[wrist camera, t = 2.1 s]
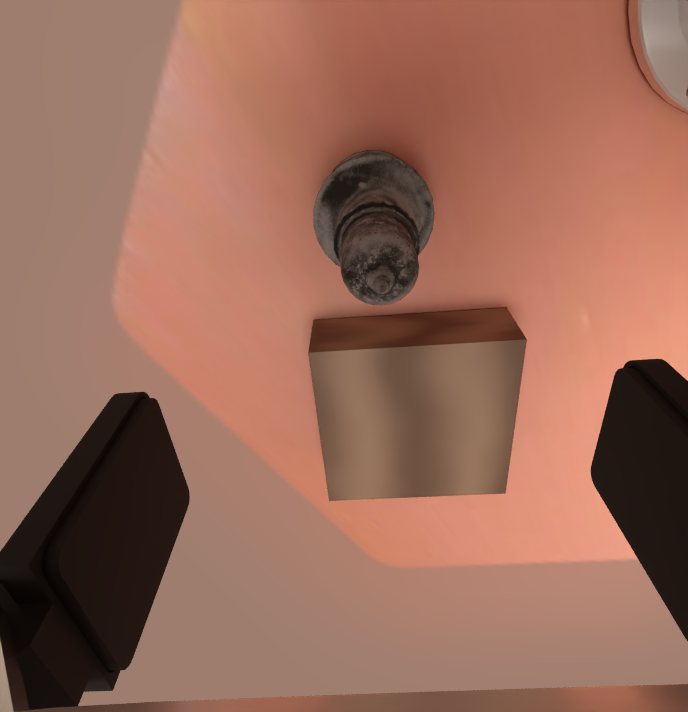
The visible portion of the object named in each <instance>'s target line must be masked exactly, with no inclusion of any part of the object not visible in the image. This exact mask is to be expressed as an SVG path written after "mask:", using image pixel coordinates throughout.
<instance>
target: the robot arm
mask: <svg viewBox="0 0 688 712" xmlns="http://www.w3.org/2000/svg"><path fill="white" fill-rule="evenodd" d="M628 15H629V24H630V34H631V42H632V45H633V48H634V52H635V55H636V58H637V61H638V64H639V67H640V69H641V70H642V72H643V74H644V75H645V77H646V79H647V80H648V82H649V84H650V85H651V87H652V88H653V89H654V90H655V91H656V92H657V93H658V94H659V95H660V96H661V97H662V98H663V99H664V100H665V101H666V102H667V103H669V104H671V105H673V106H675V107H676V108H678V109H680V110H682V111H684V112H686V113H688V92H687V93H686V90H687V88H688V0H629V7H628ZM591 477H592V481H593V484H594V486H595V487H596V489H597V491H598V492H599V494H600V496H601V497H602V499H603V501H604V502H605V504H606V506H607V508H608V509H609V511H610V513H611V514H612V516H613V518H614V519H615V521H616V523H617V524H618V526H619V528H620V529H621V531H622V533H623V534H624V536H625V538H626V539H627V541H628V543H629V544H630V546H631V548H632V549H633V551H634V553H635V554H636V556H637V558H638V559H639V561H640V563H641V564H642V566H643V568H644V569H645V571H646V573H647V574H648V576H649V578H650V580H651V581H652V583H653V585H654V586H655V588H656V590H657V591H658V593H659V594H660V596H661V598H662V600H663V601H664V603H665V605H666V606H667V608H668V610H669V611H670V613H671V615H672V616H673V618H674V620H675V621H676V623H677V624H678V626H679V628H680V630H681V631H682V633H683V635H684V636H685V638H686V639H687V641H688V381H687V380H686V379H685V378H684V377H682V376H681V375H680V374H679V373H678V372H677V371H676V370H675V369H674V368H673V367H671V366H670V365H669V364H668V363H667V362H666V361H664V360H663V359H648V360H632V361H629V362H627V363H626V364H625V365H624V367H623V368H621V369H618V370H617V371H616V373H615V376H614V380H613V384H612V387H611V391H610V395H609V399H608V403H607V407H606V411H605V415H604V419H603V422H602V426H601V430H600V434H599V438H598V442H597V446H596V450H595V454H594V458H593V461H592V465H591ZM188 505H189V489H188V486H187V483H186V480H185V477H184V475H183V472H182V469H181V466H180V463H179V460H178V458H177V455H176V452H175V449H174V446H173V443H172V440H171V438H170V435H169V432H168V429H167V426H166V423H165V420H164V418H163V415H162V412H161V409H160V406H159V404H158V402H157V400H156V399H154V398H149V396H148V394H147V393H145V392H134V393H118V394H115V395H114V396H113V397H112V398H111V399H110V401H109V402H108V403H107V405H106V406H105V407H104V409H103V411H102V412H101V413H100V414H99V416H98V417H97V418H96V420H95V421H94V423H93V424H92V425H91V427H90V428H89V430H88V431H87V432H86V434H85V435H84V436H83V438H82V439H81V441H80V442H79V443H78V445H77V446H76V448H75V449H74V450H73V452H72V453H71V454H70V456H69V457H68V459H67V460H66V461H65V463H64V464H63V466H62V467H61V468H60V470H59V471H58V472H57V474H56V476H55V477H54V478H53V479H52V481H51V482H50V484H49V485H48V486H47V488H46V489H45V491H44V492H43V493H42V495H41V496H40V498H39V499H38V500H37V502H36V503H35V505H34V506H33V507H32V509H31V510H30V511H29V513H28V514H27V515H26V517H25V518H24V520H23V521H22V523H21V524H20V525H19V527H18V528H17V529H16V531H15V532H14V534H13V535H12V536H11V538H10V539H9V540H8V542H7V543H6V545H5V546H4V547H3V549H2V550H1V551H0V712H688V684H680V685H646V686H645V685H643V686H611V687H609V686H608V687H571V688H537V689H504V690H476V691H475V690H473V691H442V692H411V693H381V694H352V695H323V696H298V697H297V696H296V697H271V698H244V699H219V700H192V701H169V702H168V701H167V702H145V703H128V704H110V705H93V706H78V704H79V702H80V699H81V697H82V694H83V692H84V691H85V692H86V691H112V690H113V689H114V686H115V683H116V681H117V678H118V675H119V673H120V670H125V669H126V668H127V667H128V666H129V665H130V663H131V661H132V659H133V656H134V653H135V651H136V648H137V645H138V642H139V640H140V637H141V634H142V632H143V629H144V626H145V623H146V620H147V618H148V615H149V612H150V610H151V607H152V604H153V601H154V598H155V596H156V593H157V590H158V588H159V585H160V582H161V579H162V577H163V574H164V571H165V568H166V566H167V563H168V560H169V558H170V554H171V552H172V549H173V547H174V544H175V541H176V538H177V536H178V533H179V530H180V527H181V525H182V522H183V519H184V516H185V514H186V511H187V508H188Z"/></svg>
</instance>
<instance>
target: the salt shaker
mask: <svg viewBox="0 0 688 712" xmlns="http://www.w3.org/2000/svg"><path fill="white" fill-rule="evenodd" d="M433 221H434V207H433V200H432V196H431V194H430V192H429V189H428V187H427V185H426V182H425V181H424V180H423V179H422V178H421V176H420V175H419V174H418V173H417V171H416V170H415V169H413V168H412V167H410V166H409V165H407V164H406V163H404V162H403V161H402V160H400V159H398V158H397V157H396V156H394V155H392V154H389V153H386V152H383V151H371V150H367V151H363V152H359V153H355V154H353V155H351V156H350V157H348V158H346V159H344V160H343V161H342V162H341V163H340V164H339V165H338V166H337V167H336V168H335V169H334V170H333V172H332V174H331V175H330V176H329V177H328V178H327V179H326V180H325V182H324V184H323V185H322V187H321V189H320V191H319V192H318V195H317V199H316V203H315V206H314V229H315V232H316V236H317V239H318V242H319V244H320V245H321V247H322V249H323V250H324V252H325V254H326V255H327V256H328V257H329V258H330V259H331V260H332V261H333V262H334V263H335V264H336V265H338V266H340V267H341V274H342V277H343V281H344V283H345V285H346V286H347V288H348V290H349V291H350V292H351V293H352V294H353V295H354V296H355V297H356V298H357V299H359V300H361V301H363V302H365V303H368V304H372V305H387V304H392V303H394V302H396V301H399V300H401V299H402V298H403V297H405V296H406V295H407V294H408V293H409V292H410V291H411V289H412V288H413V287H414V284H415V282H416V280H417V277H418V270H419V263H418V255H419V254H420V252H421V251H422V250H423V248H424V247H425V246H426V244H427V242H428V239H429V237H430V234H431V232H432V229H433Z"/></svg>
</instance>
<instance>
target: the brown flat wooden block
mask: <svg viewBox="0 0 688 712" xmlns="http://www.w3.org/2000/svg"><path fill="white" fill-rule="evenodd" d="M526 341H527V339H526V338H525V336H524V334H523V333H522V331H521V330H520V328H519V326H518V325H517V323H516V322H515V320H514V319H513V317H512V315H511V314H510V312H509V311H508V309H507V308H492V309H477V310H461V311H446V312H430V313H415V314H399V315H383V316H368V317H352V318H337V319H321V320H314V321H313V327H312V333H311V339H310V346H309V352H308V353H309V360H310V368H311V375H312V382H313V389H314V396H315V403H316V410H317V418H318V425H319V432H320V439H321V446H322V453H323V460H324V467H325V475H326V482H327V489H328V496H329V501H337V500H360V499H384V498H408V497H431V496H455V495H479V494H503V493H506V485H507V478H508V471H509V464H510V457H511V449H512V442H513V435H514V428H515V421H516V413H517V406H518V399H519V392H520V384H521V377H522V370H523V363H524V356H525V348H526Z"/></svg>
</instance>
